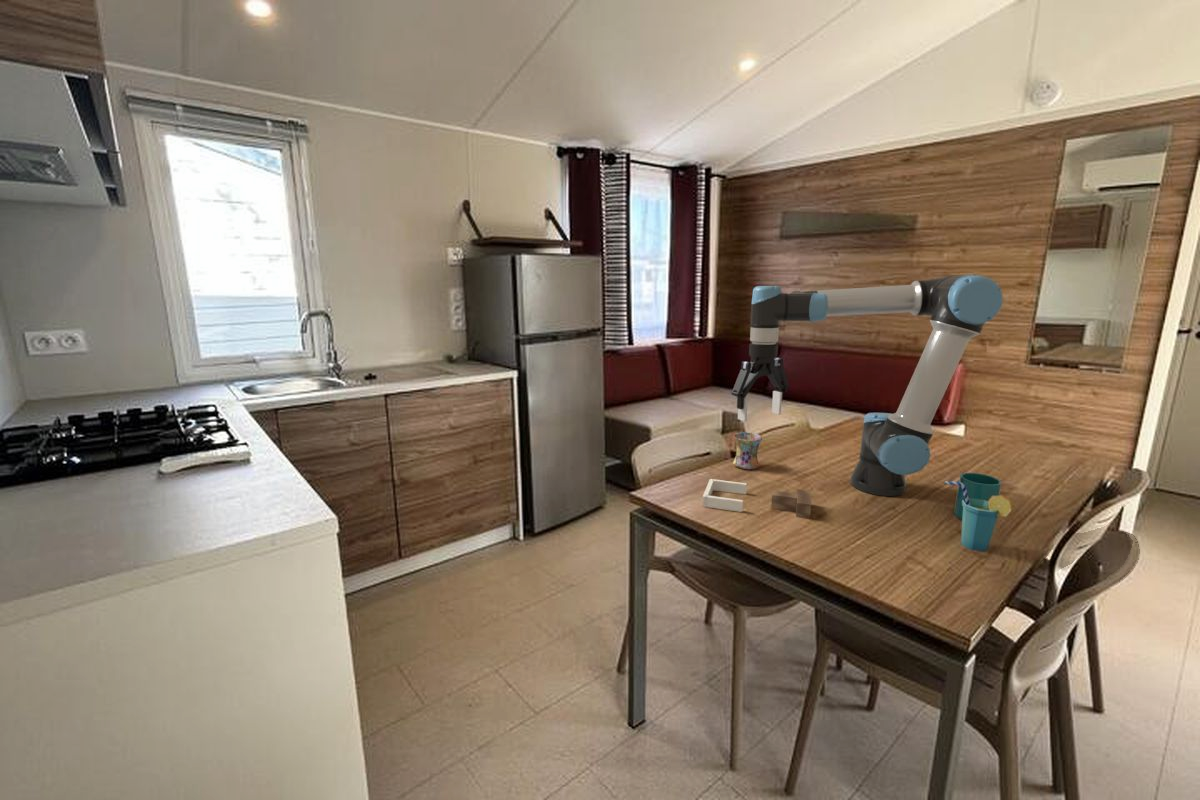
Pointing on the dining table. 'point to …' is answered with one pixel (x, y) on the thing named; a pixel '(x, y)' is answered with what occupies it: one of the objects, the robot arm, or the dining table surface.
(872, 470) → the robot arm
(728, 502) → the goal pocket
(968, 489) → the cup
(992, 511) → the cup
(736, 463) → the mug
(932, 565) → the dining table surface
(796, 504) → the t block
